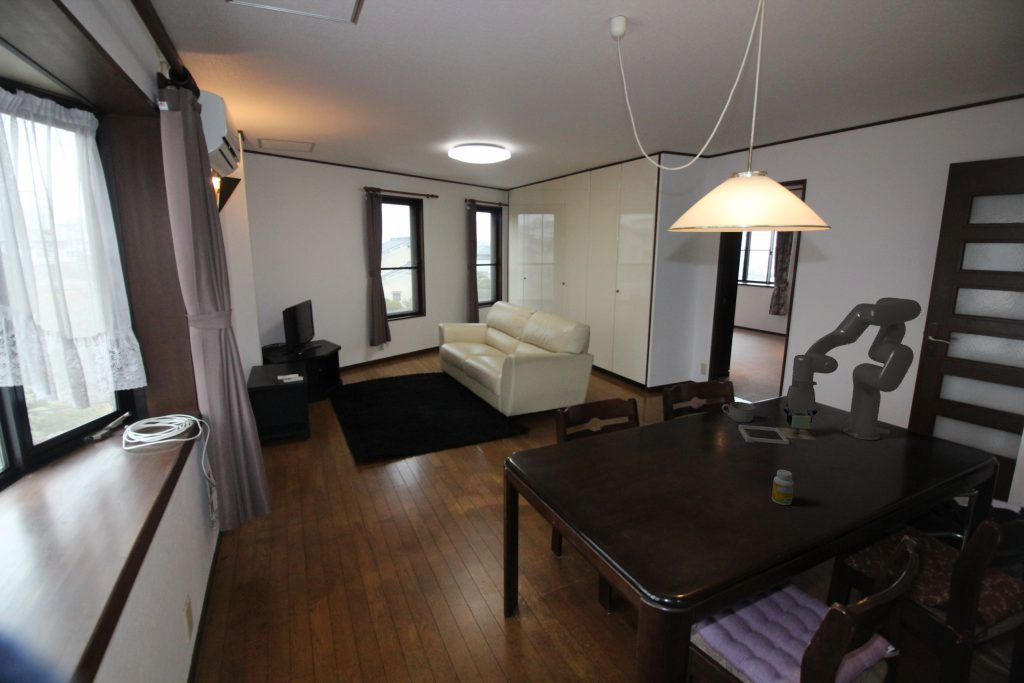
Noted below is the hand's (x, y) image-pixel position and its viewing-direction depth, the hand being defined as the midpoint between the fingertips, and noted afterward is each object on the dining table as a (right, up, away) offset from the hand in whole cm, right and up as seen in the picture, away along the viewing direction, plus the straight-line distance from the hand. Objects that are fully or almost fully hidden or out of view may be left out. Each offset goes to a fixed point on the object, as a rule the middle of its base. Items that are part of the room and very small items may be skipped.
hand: (798, 423), depth 194 cm
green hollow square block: (0, -1, 0) cm, 1 cm away
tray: (-16, -6, -1) cm, 17 cm away
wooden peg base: (-1, -5, +1) cm, 5 cm away
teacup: (-17, -2, +20) cm, 26 cm away
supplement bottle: (-39, -15, -52) cm, 67 cm away
